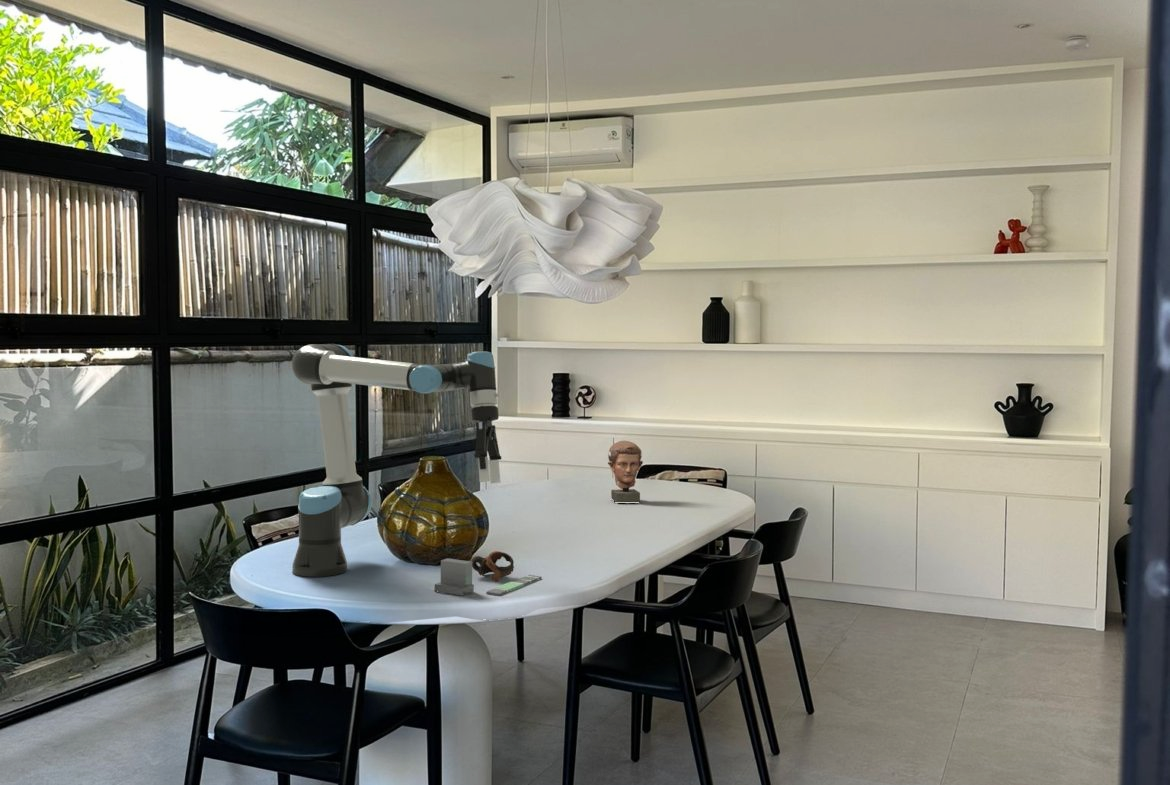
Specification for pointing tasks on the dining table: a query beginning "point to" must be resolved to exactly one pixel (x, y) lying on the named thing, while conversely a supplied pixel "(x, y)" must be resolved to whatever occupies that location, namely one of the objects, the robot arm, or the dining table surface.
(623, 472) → the bust
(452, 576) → the striated grey slab
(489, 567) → the pottery mug
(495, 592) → the gauge strip
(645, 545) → the dining table surface
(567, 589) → the dining table surface
